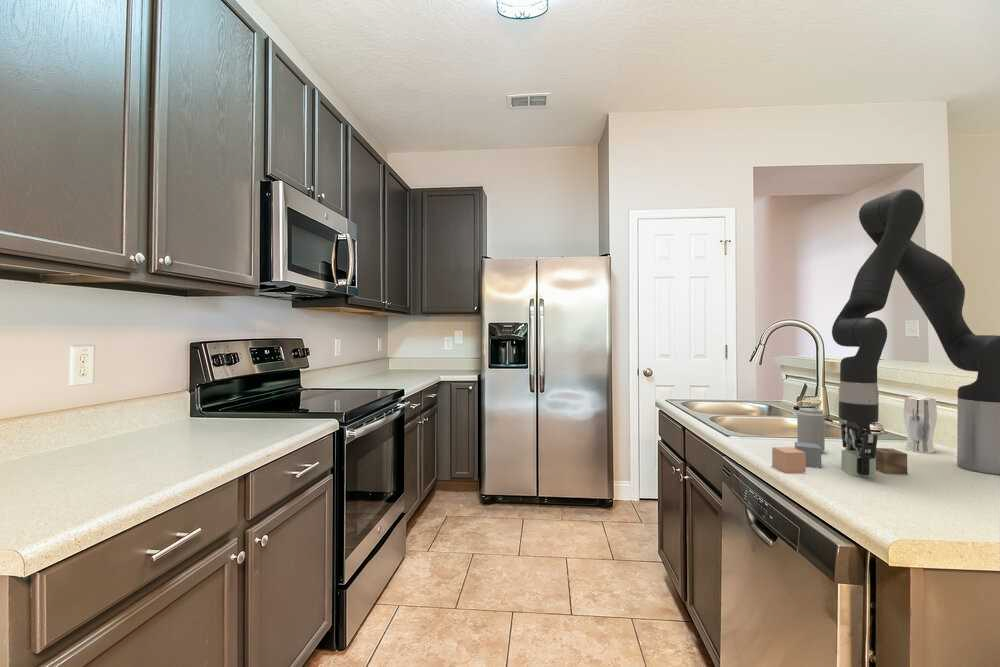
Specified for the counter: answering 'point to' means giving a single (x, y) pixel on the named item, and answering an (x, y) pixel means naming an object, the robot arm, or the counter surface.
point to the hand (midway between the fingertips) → (857, 470)
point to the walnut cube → (891, 461)
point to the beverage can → (811, 427)
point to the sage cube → (851, 464)
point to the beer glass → (920, 423)
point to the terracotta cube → (789, 459)
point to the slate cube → (810, 453)
